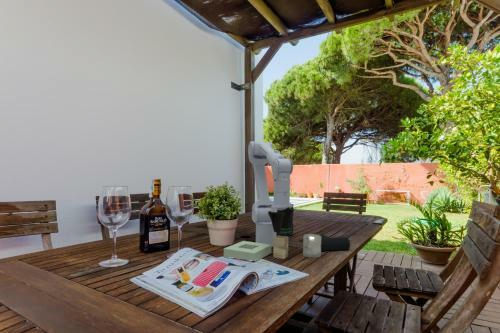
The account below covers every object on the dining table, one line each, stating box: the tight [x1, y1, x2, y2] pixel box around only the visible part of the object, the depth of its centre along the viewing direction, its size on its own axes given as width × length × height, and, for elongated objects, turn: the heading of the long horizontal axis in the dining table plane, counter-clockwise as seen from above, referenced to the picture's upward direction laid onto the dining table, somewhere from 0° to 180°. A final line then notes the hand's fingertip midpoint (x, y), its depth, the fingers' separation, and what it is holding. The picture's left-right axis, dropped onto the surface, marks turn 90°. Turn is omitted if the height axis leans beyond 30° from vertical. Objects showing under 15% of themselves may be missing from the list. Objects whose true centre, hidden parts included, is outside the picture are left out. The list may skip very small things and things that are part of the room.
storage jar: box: [276, 203, 294, 239], centre depth 144 cm, size 10×10×15 cm
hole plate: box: [223, 240, 272, 261], centre depth 109 cm, size 14×12×3 cm
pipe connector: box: [315, 232, 351, 252], centre depth 121 cm, size 12×5×15 cm
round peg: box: [302, 233, 322, 259], centre depth 110 cm, size 6×6×7 cm
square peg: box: [272, 236, 289, 260], centre depth 107 cm, size 4×4×7 cm
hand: (281, 230), depth 107 cm, fingers open, 7 cm apart
